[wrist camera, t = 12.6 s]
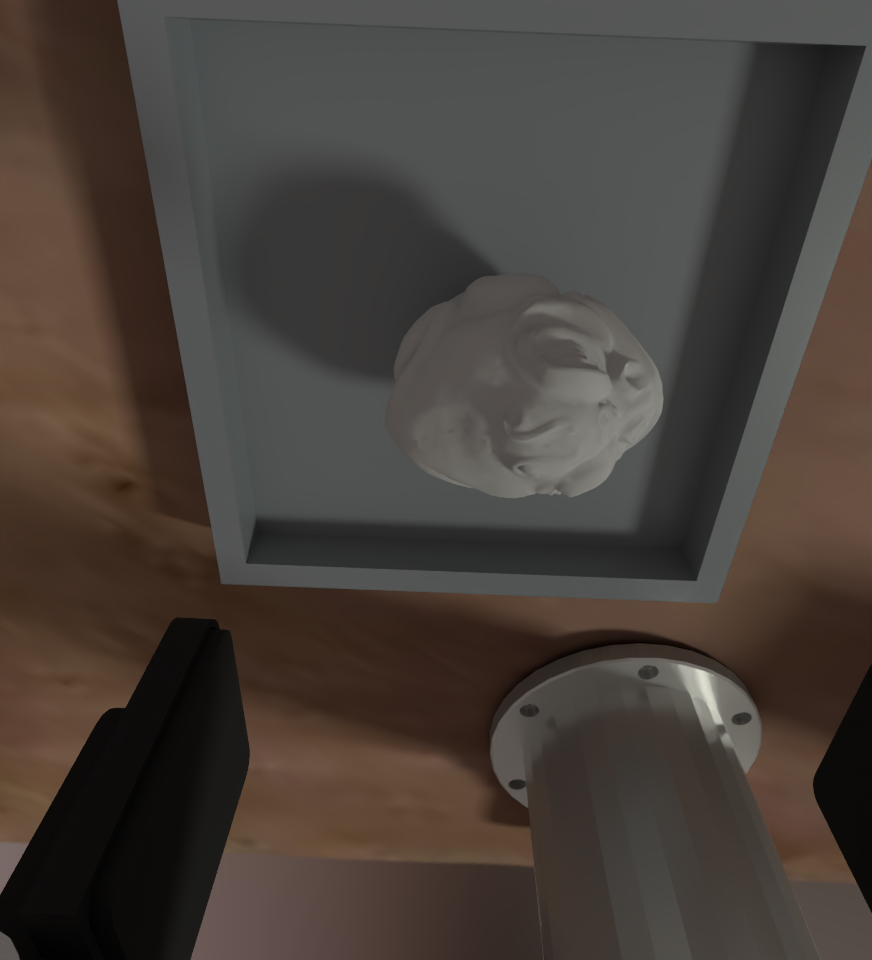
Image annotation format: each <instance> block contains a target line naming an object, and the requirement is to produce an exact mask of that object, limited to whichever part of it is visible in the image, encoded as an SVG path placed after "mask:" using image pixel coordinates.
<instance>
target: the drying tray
mask: <svg viewBox="0 0 872 960" xmlns="http://www.w3.org/2000/svg"><path fill="white" fill-rule="evenodd" d="M117 2H118V7H119V13H120V18H121V24H122V30H123V35H124V41H125V46H126V52H127V58H128V63H129V69H130V74H131V80H132V86H133V91H134V97H135V103H136V108H137V114H138V119H139V125H140V131H141V136H142V142H143V147H144V153H145V159H146V164H147V170H148V175H149V181H150V187H151V192H152V198H153V203H154V209H155V215H156V220H157V226H158V231H159V237H160V243H161V248H162V254H163V259H164V265H165V271H166V276H167V282H168V287H169V293H170V299H171V304H172V310H173V316H174V321H175V327H176V332H177V338H178V344H179V349H180V355H181V360H182V366H183V372H184V377H185V383H186V388H187V394H188V400H189V405H190V411H191V416H192V422H193V428H194V433H195V439H196V444H197V450H198V456H199V461H200V467H201V472H202V478H203V484H204V489H205V495H206V500H207V506H208V512H209V517H210V523H211V528H212V534H213V540H214V545H215V551H216V557H217V562H218V568H219V573H220V579H221V584H233V585H259V586H284V587H310V588H336V589H362V590H387V591H413V592H439V593H465V594H491V595H516V596H542V597H568V598H594V599H619V600H645V601H671V602H697V603H718V600H719V597H720V594H721V591H722V588H723V586H724V583H725V580H726V577H727V574H728V571H729V568H730V565H731V563H732V560H733V557H734V554H735V551H736V548H737V545H738V542H739V539H740V537H741V534H742V531H743V528H744V525H745V522H746V519H747V516H748V514H749V511H750V508H751V505H752V502H753V499H754V496H755V493H756V491H757V488H758V485H759V482H760V479H761V476H762V473H763V470H764V468H765V465H766V462H767V459H768V456H769V453H770V450H771V447H772V444H773V442H774V439H775V436H776V433H777V430H778V427H779V424H780V421H781V419H782V416H783V413H784V410H785V407H786V404H787V401H788V398H789V396H790V393H791V390H792V387H793V384H794V381H795V378H796V375H797V373H798V370H799V367H800V364H801V361H802V358H803V355H804V352H805V349H806V347H807V344H808V341H809V338H810V335H811V332H812V329H813V326H814V324H815V321H816V318H817V315H818V312H819V309H820V306H821V303H822V301H823V298H824V295H825V292H826V289H827V286H828V283H829V280H830V277H831V275H832V272H833V269H834V266H835V263H836V260H837V257H838V254H839V252H840V249H841V246H842V243H843V240H844V237H845V234H846V231H847V229H848V226H849V223H850V220H851V217H852V214H853V211H854V208H855V206H856V203H857V200H858V197H859V194H860V191H861V188H862V185H863V182H864V180H865V177H866V174H867V171H868V168H869V165H870V162H871V159H872V0H117ZM506 273H522V274H532V275H537V276H541V277H544V278H546V279H548V280H550V281H551V282H553V283H554V284H555V285H556V287H557V288H558V290H559V292H560V295H561V294H563V293H565V292H568V291H570V290H573V291H576V292H579V293H581V294H582V295H583V296H584V295H589V296H591V297H592V298H594V299H596V300H598V301H600V302H601V303H603V304H604V305H606V306H607V307H608V308H610V309H611V311H612V312H613V313H614V314H615V315H616V316H617V317H618V318H619V319H620V320H621V321H622V322H623V323H624V325H625V326H626V327H627V328H628V329H629V331H630V332H631V333H632V334H633V335H634V337H635V338H636V339H637V340H638V342H639V343H640V344H641V346H642V347H643V348H644V349H645V351H646V352H647V353H648V355H649V356H650V357H651V359H652V360H653V362H654V364H655V365H656V367H657V369H658V371H659V375H660V378H661V381H662V393H663V398H664V400H663V407H662V413H661V415H660V417H659V419H658V421H657V423H656V424H655V425H654V427H653V428H652V429H651V430H650V431H649V433H648V434H647V435H646V436H645V437H644V438H643V439H642V440H640V441H639V442H638V443H637V444H636V445H634V446H633V447H631V448H630V449H628V450H626V451H625V452H624V453H623V454H622V456H621V458H620V459H619V460H617V461H616V463H615V465H614V468H613V470H612V472H611V473H610V475H609V476H608V478H607V479H606V480H605V481H604V482H602V483H601V484H600V485H599V486H597V487H596V488H594V489H591V490H589V491H587V492H584V493H582V494H580V495H577V496H574V497H569V496H567V495H565V494H563V493H561V494H560V495H559V494H555V493H554V494H553V495H552V496H551V495H549V494H539V493H535V494H532V495H527V496H525V497H519V498H505V497H497V496H491V495H489V494H487V493H484V492H482V491H480V490H477V489H474V488H468V487H464V486H460V485H456V484H453V483H450V482H447V481H444V480H442V479H439V478H437V477H434V476H432V475H430V474H428V473H427V472H425V471H424V470H422V469H421V468H419V467H418V466H417V465H416V464H414V463H413V462H412V461H411V460H410V459H408V458H407V457H406V456H405V455H404V454H403V452H402V451H401V450H400V449H399V448H398V447H397V446H396V444H395V443H394V441H393V440H392V438H391V437H390V434H389V432H388V431H387V430H386V428H385V414H386V408H387V402H388V398H389V396H390V393H391V391H392V389H393V387H394V385H395V383H396V381H395V377H394V365H395V361H396V357H397V354H398V351H399V348H400V345H401V342H402V340H403V338H404V336H405V335H406V334H407V332H408V331H409V329H410V328H411V327H412V326H413V324H414V323H415V322H416V321H417V320H418V319H419V318H420V317H421V316H422V315H423V314H424V313H425V312H426V311H427V310H429V309H430V308H431V307H433V306H435V305H438V304H440V303H443V302H448V301H449V300H451V299H453V298H454V297H456V296H458V295H459V294H461V293H463V292H465V291H466V288H467V287H468V286H469V285H470V284H471V283H473V282H474V281H475V280H477V279H479V278H481V277H484V276H497V275H501V274H506Z"/></svg>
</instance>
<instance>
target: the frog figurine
mask: <svg viewBox="0 0 872 960" xmlns="http://www.w3.org/2000/svg"><path fill="white" fill-rule="evenodd" d="M394 377H395V381H396V383H395V385H394V387H393V389H392V391H391V393H390V396H389V398H388V402H387V408H386V414H385V428H386V430H387V431H388V432H389V434H390V437H391V438H392V440H393V441H394V443H395V444H396V446H397V447H398V448H399V449H400V450H401V451H402V452H403V454H404V455H405V456H406V457H407V458H408V459H410V460H411V461H412V462H413V463H414V464H416V465H417V466H418V467H419V468H421V469H422V470H424V471H425V472H427V473H428V474H430V475H432V476H434V477H437V478H439V479H442V480H444V481H447V482H450V483H453V484H456V485H460V486H464V487H468V488H474V489H477V490H480V491H482V492H484V493H487V494H489V495H491V496H497V497H505V498H519V497H525V496H527V495H532V494H535V493H539V494H549V495H551V496H552V495H553V494H554V493H555V494H559V495H560V494H561V493H563V494H565V495H567V496H569V497H574V496H577V495H580V494H582V493H584V492H587V491H589V490H591V489H594V488H596V487H597V486H599V485H600V484H601V483H602V482H604V481H605V480H606V479H607V478H608V476H609V475H610V473H611V472H612V470H613V468H614V465H615V463H616V461H617V460H619V459H620V458H621V456H622V454H623V453H624V452H625V451H626V450H628V449H630V448H631V447H633V446H634V445H636V444H637V443H638V442H639V441H640V440H642V439H643V438H644V437H645V436H646V435H647V434H648V433H649V431H650V430H651V429H652V428H653V427H654V425H655V424H656V423H657V421H658V419H659V417H660V415H661V413H662V407H663V400H664V398H663V393H662V381H661V378H660V375H659V371H658V369H657V367H656V365H655V364H654V362H653V360H652V359H651V357H650V356H649V355H648V353H647V352H646V351H645V349H644V348H643V347H642V346H641V344H640V343H639V342H638V340H637V339H636V338H635V337H634V335H633V334H632V333H631V332H630V331H629V329H628V328H627V327H626V326H625V325H624V323H623V322H622V321H621V320H620V319H619V318H618V317H617V316H616V315H615V314H614V313H613V312H612V311H611V309H610V308H608V307H607V306H606V305H604V304H603V303H601V302H600V301H598V300H596V299H594V298H592V297H591V296H589V295H584V296H583V295H582V294H581V293H579V292H576V291H573V290H570V291H568V292H565V293H563V294H561V295H560V292H559V290H558V288H557V287H556V285H555V284H554V283H553V282H551V281H550V280H548V279H546V278H544V277H541V276H537V275H532V274H522V273H506V274H501V275H497V276H484V277H481V278H479V279H477V280H475V281H474V282H473V283H471V284H470V285H469V286H468V287H467V288H466V291H465V292H463V293H461V294H459V295H458V296H456V297H454V298H453V299H451V300H449V301H448V302H443V303H440V304H438V305H435V306H433V307H431V308H430V309H429V310H427V311H426V312H425V313H424V314H423V315H422V316H421V317H420V318H419V319H418V320H417V321H416V322H415V323H414V324H413V326H412V327H411V328H410V329H409V331H408V332H407V334H406V335H405V336H404V338H403V340H402V342H401V345H400V348H399V351H398V354H397V357H396V361H395V365H394Z"/></svg>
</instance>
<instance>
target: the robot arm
mask: <svg viewBox="0 0 872 960" xmlns="http://www.w3.org/2000/svg"><path fill="white" fill-rule="evenodd" d="M761 742H762V722H761V719H760V716H759V713H758V710H757V707H756V705H755V703H754V701H753V699H752V697H751V695H750V693H749V692H748V690H747V688H746V686H745V685H744V684H743V683H742V681H741V680H740V679H739V678H738V677H737V676H736V675H735V674H734V673H733V672H732V671H731V670H729V669H727V668H726V667H724V666H723V665H721V664H720V663H718V662H717V661H715V660H713V659H711V658H708V657H706V656H703V655H701V654H699V653H696V652H694V651H690V650H686V649H681V648H677V647H672V646H668V645H655V644H642V643H636V644H620V645H609V646H604V647H599V648H594V649H589V650H584V651H581V652H578V653H575V654H572V655H569V656H566V657H563V658H560V659H558V660H556V661H554V662H552V663H550V664H548V665H546V666H544V667H542V668H540V669H538V670H537V671H535V672H534V673H532V674H531V675H530V676H528V677H527V678H525V679H524V680H523V681H521V682H520V683H519V684H517V685H516V686H515V688H514V689H513V690H512V691H511V692H510V693H509V694H508V695H507V696H506V697H505V698H504V699H503V701H502V703H501V704H500V706H499V708H498V710H497V711H496V713H495V715H494V717H493V721H492V725H491V728H490V757H491V762H492V768H493V771H494V773H495V775H496V777H497V779H498V781H499V783H500V784H501V785H502V786H503V788H504V789H505V790H506V791H507V792H508V793H509V794H510V795H511V796H512V797H513V798H514V799H516V800H517V801H518V802H520V803H521V804H523V805H524V806H525V807H527V808H528V811H529V820H530V830H531V840H532V850H533V859H534V869H535V879H536V888H537V898H538V908H539V918H540V926H541V927H540V928H541V937H542V946H543V957H544V960H821V958H820V956H819V954H818V951H817V949H816V946H815V944H814V941H813V939H812V936H811V934H810V931H809V929H808V927H807V924H806V922H805V919H804V917H803V914H802V912H801V909H800V907H799V905H798V902H797V900H796V897H795V895H794V892H793V890H792V887H791V885H790V882H789V880H788V877H787V875H786V872H785V870H784V868H783V865H782V863H781V860H780V858H779V855H778V853H777V850H776V848H775V845H774V843H773V841H772V838H771V836H770V833H769V831H768V828H767V826H766V823H765V821H764V819H763V816H762V814H761V811H760V809H759V806H758V804H757V801H756V799H755V796H754V794H753V792H752V789H751V787H750V784H749V782H748V779H747V777H746V773H747V772H748V770H749V769H750V767H751V765H752V764H753V762H754V761H755V759H756V757H757V755H758V752H759V749H760V745H761ZM249 757H250V750H249V742H248V736H247V730H246V724H245V717H244V711H243V705H242V699H241V693H240V687H239V680H238V674H237V668H236V662H235V656H234V649H233V643H232V637H231V633H230V631H229V630H220V628H219V624H218V622H217V621H216V620H215V619H197V618H175V619H174V620H173V621H172V622H171V623H170V625H169V627H168V629H167V630H166V632H165V634H164V636H163V638H162V640H161V642H160V644H159V646H158V648H157V649H156V651H155V653H154V655H153V657H152V659H151V661H150V663H149V665H148V666H147V668H146V670H145V672H144V674H143V676H142V678H141V680H140V682H139V683H138V685H137V687H136V689H135V691H134V693H133V695H132V697H131V699H130V700H129V702H128V704H127V706H126V708H112V709H109V710H108V711H107V712H105V713H104V714H103V715H102V716H101V718H100V719H99V721H98V722H97V724H96V725H95V727H94V729H93V730H92V732H91V734H90V736H89V738H88V739H87V741H86V743H85V745H84V747H83V748H82V750H81V752H80V754H79V755H78V757H77V759H76V761H75V763H74V764H73V766H72V768H71V770H70V772H69V773H68V775H67V777H66V779H65V780H64V782H63V784H62V786H61V788H60V789H59V791H58V793H57V795H56V796H55V798H54V800H53V802H52V804H51V805H50V807H49V809H48V811H47V813H46V814H45V816H44V818H43V820H42V821H41V823H40V825H39V827H38V829H37V830H36V832H35V834H34V836H33V837H32V839H31V841H30V843H29V845H28V846H27V848H26V850H25V852H24V854H23V855H22V857H21V859H20V861H19V863H18V864H17V866H16V868H15V870H14V872H13V873H12V875H11V877H10V879H9V880H8V882H7V884H6V886H5V888H4V889H3V891H2V893H1V895H0V960H190V959H191V956H192V952H193V949H194V946H195V942H196V939H197V936H198V933H199V929H200V926H201V923H202V920H203V916H204V913H205V910H206V906H207V903H208V900H209V897H210V893H211V890H212V886H213V883H214V880H215V877H216V874H217V870H218V867H219V864H220V860H221V857H222V854H223V851H224V847H225V844H226V841H227V837H228V834H229V831H230V828H231V824H232V821H233V818H234V814H235V811H236V808H237V805H238V801H239V798H240V795H241V791H242V788H243V785H244V782H245V778H246V775H247V771H248V766H249ZM813 789H814V794H815V798H816V801H817V803H818V805H819V807H820V809H821V811H822V813H823V815H824V817H825V819H826V821H827V823H828V825H829V827H830V830H831V832H832V834H833V836H834V838H835V840H836V842H837V844H838V846H839V848H840V850H841V852H842V854H843V856H844V858H845V860H846V862H847V864H848V866H849V868H850V870H851V872H852V874H853V876H854V878H855V880H856V882H857V884H858V886H859V888H860V890H861V892H862V894H863V896H864V898H865V900H866V902H867V904H868V906H869V908H870V910H871V912H872V665H871V666H870V667H869V669H868V671H867V673H866V675H865V677H864V679H863V681H862V683H861V685H860V687H859V689H858V691H857V693H856V695H855V697H854V699H853V701H852V703H851V705H850V707H849V709H848V711H847V713H846V715H845V716H844V718H843V720H842V722H841V724H840V726H839V728H838V730H837V732H836V734H835V736H834V738H833V740H832V742H831V744H830V746H829V748H828V750H827V752H826V754H825V756H824V758H823V760H822V762H821V764H820V766H819V768H818V769H817V771H816V773H815V776H814V780H813Z"/></svg>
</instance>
